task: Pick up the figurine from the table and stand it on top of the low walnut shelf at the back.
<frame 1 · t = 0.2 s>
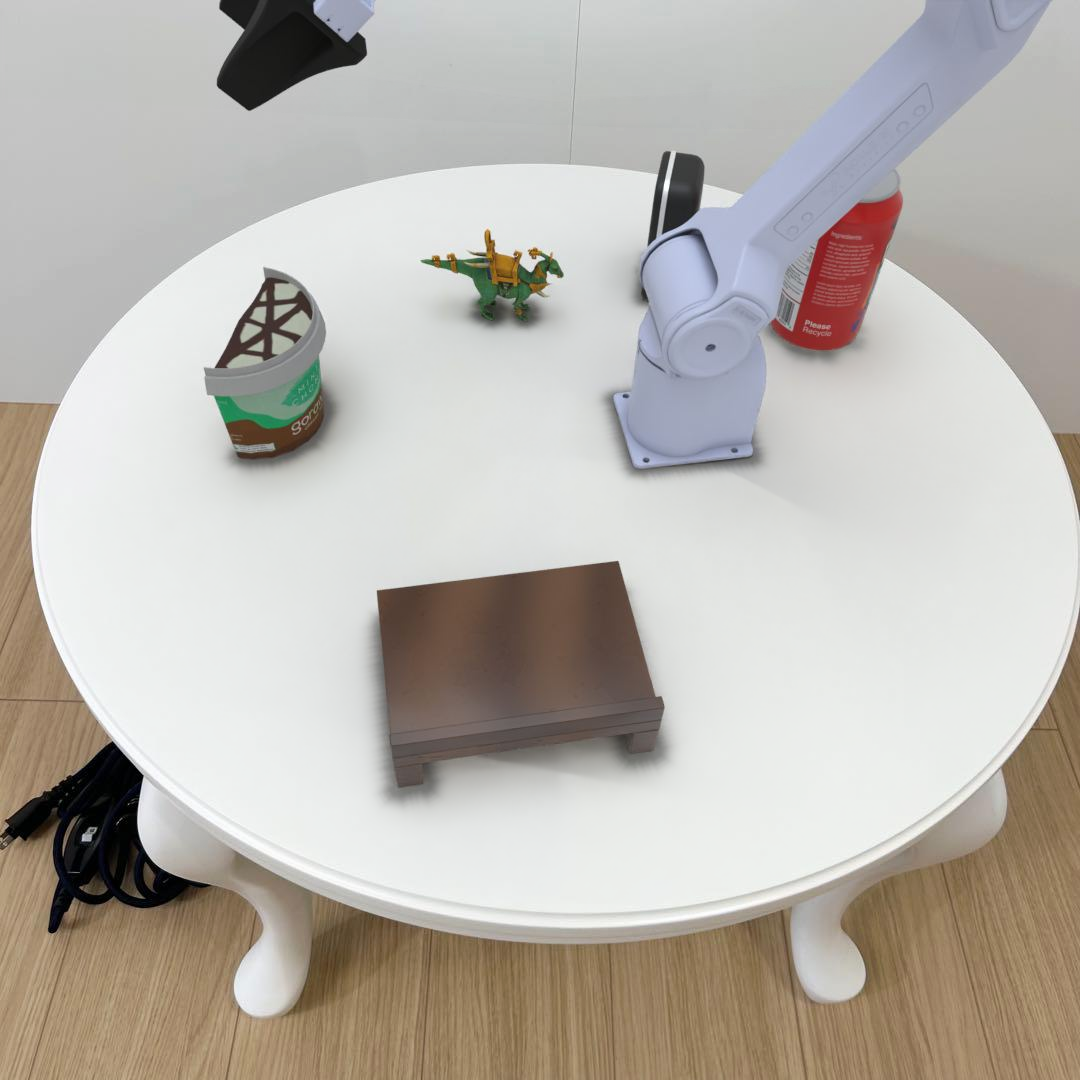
hand: (233, 55, 55), 31 cm above the table, tool tilted 45°, fingers open, 7 cm apart
figurine: (492, 313, 91), on the table
battery charger: (665, 282, 94), on the table
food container: (297, 423, 82), on the table
shelf: (513, 685, 68), on the table
soda can: (810, 329, 91), on the table
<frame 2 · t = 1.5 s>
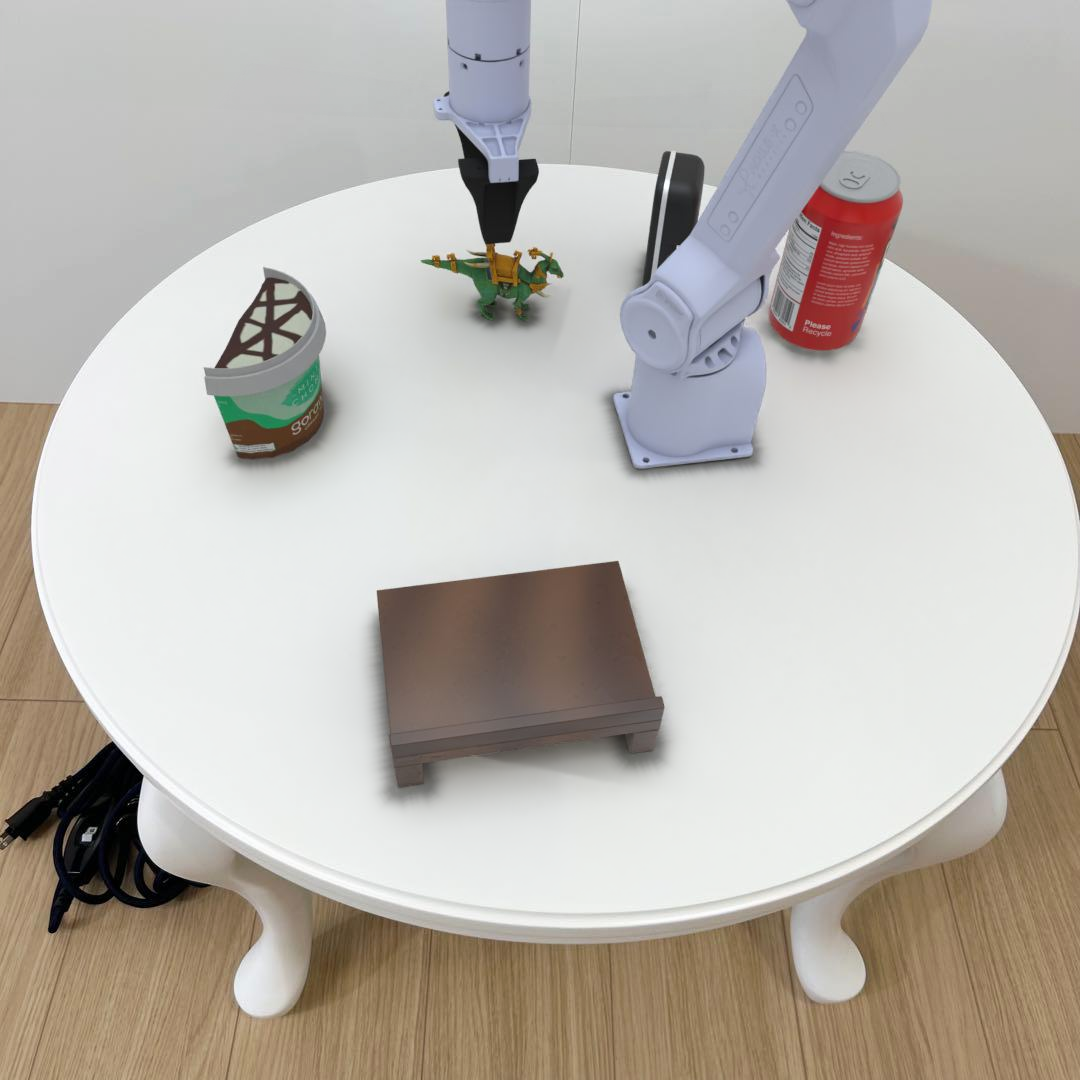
hand: (490, 211, 83), 10 cm above the table, tool pointing down, fingers open, 7 cm apart
nothing on the table moved.
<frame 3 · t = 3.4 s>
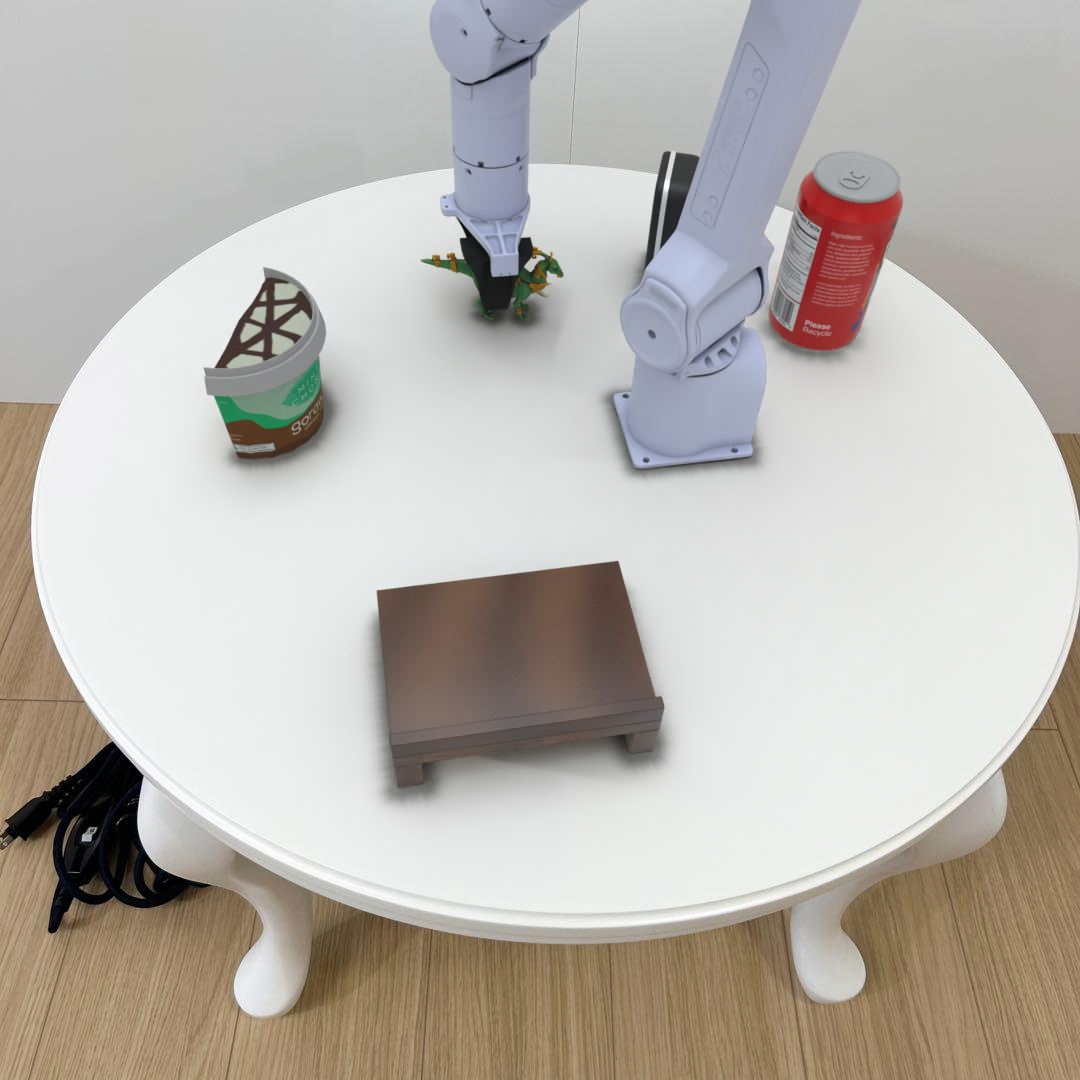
hand: (492, 292, 89), 2 cm above the table, tool pointing down, fingers closed on figurine, 3 cm apart
figurine: (492, 312, 91), on the table, touching gripper
everything else where it was.
when the fingers open (6 cm above the table, at t = 8.1 s): figurine stays where it is, resting on shelf.
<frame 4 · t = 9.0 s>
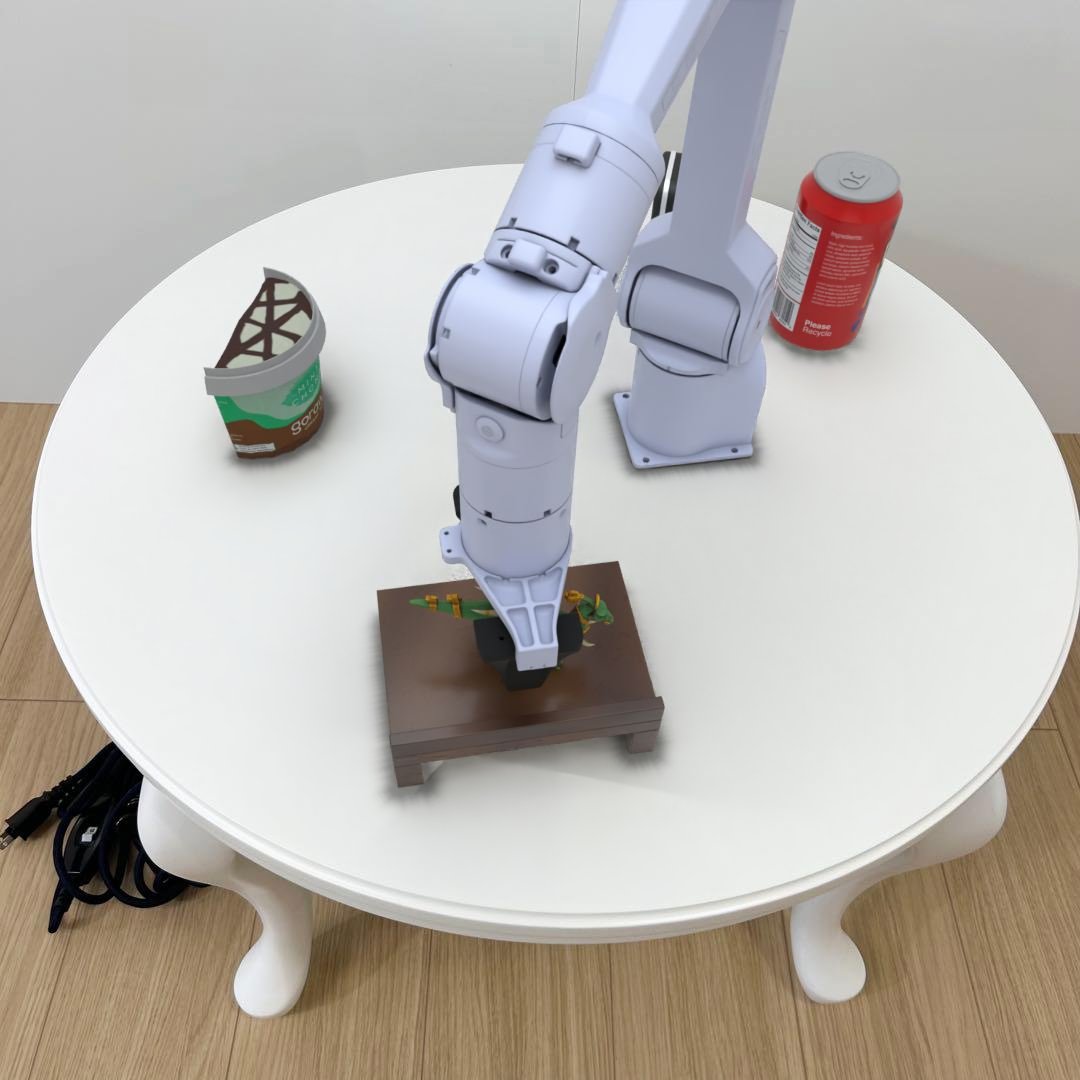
hand: (513, 629, 63), 7 cm above the table, tool pointing down, fingers open, 7 cm apart
figurine: (511, 653, 65), point 4 cm above the table, touching shelf
everything else where it was.
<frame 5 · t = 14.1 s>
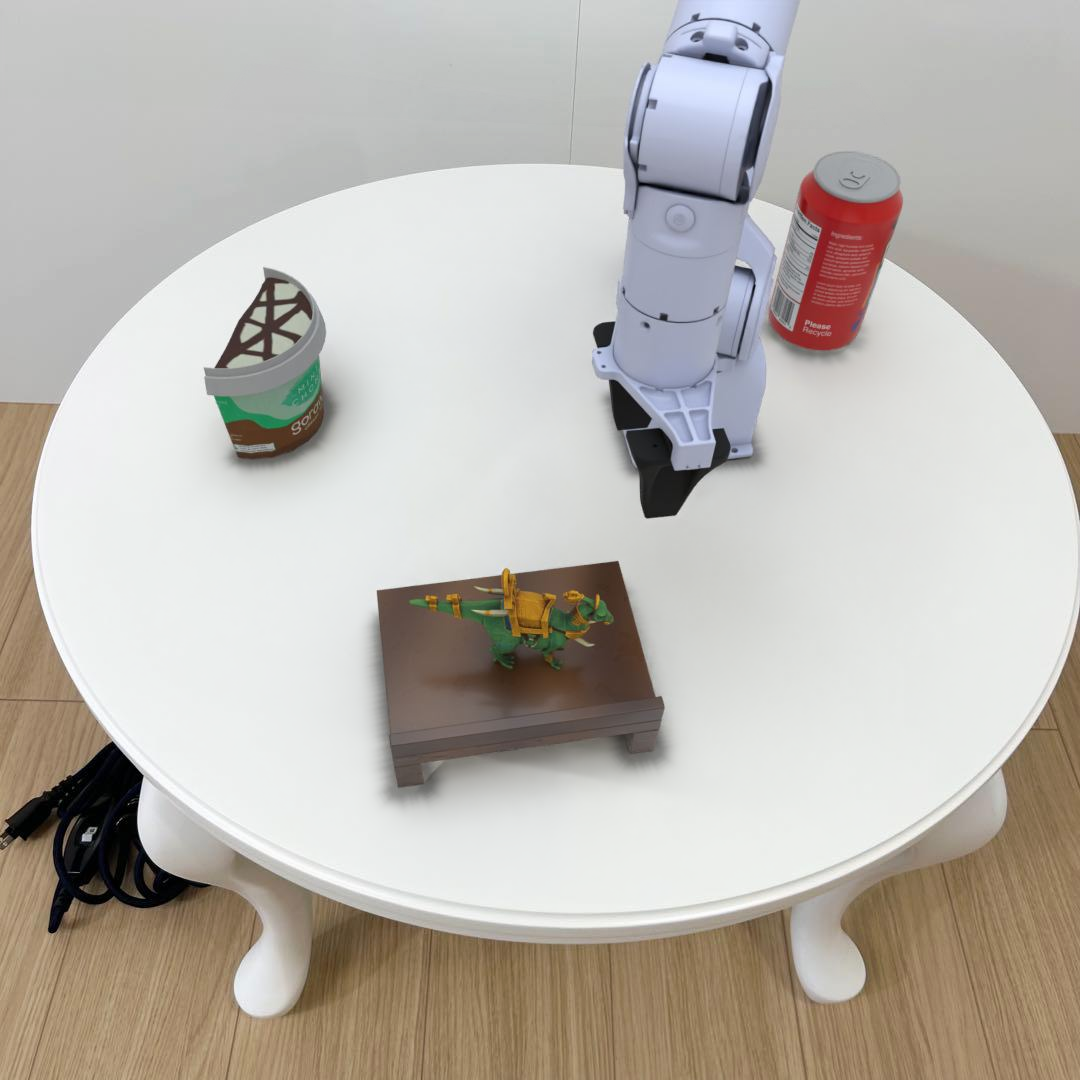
hand: (644, 467, 66), 10 cm above the table, tool pointing down, fingers open, 7 cm apart
nothing on the table moved.
at the end: figurine inside the target area on the shelf (0.1 cm from its centre), point 3.8 cm above the shelf's base; figurine tilted 0°; the gripper is holding nothing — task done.
